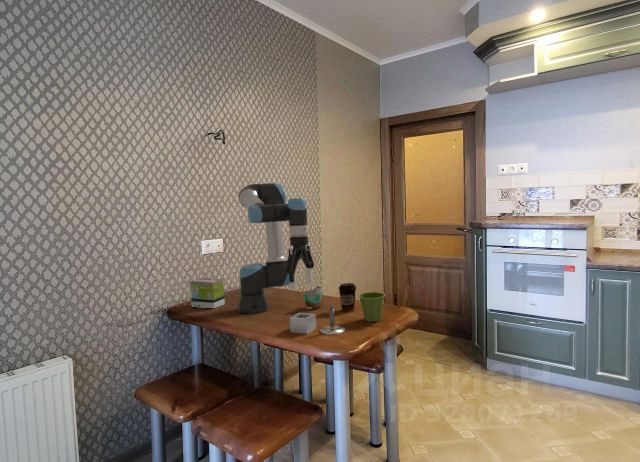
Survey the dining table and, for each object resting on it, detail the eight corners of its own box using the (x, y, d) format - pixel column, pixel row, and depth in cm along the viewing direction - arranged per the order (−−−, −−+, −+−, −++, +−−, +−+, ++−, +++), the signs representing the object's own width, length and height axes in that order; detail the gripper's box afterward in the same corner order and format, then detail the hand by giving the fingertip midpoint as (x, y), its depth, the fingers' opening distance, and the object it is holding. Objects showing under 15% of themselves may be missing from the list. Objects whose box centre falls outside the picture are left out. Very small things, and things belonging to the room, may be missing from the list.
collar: (290, 332, 160) (289, 317, 160) (299, 326, 168) (299, 312, 167) (307, 334, 157) (306, 319, 157) (316, 328, 164) (315, 314, 164)
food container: (314, 312, 188) (313, 291, 188) (304, 310, 192) (303, 290, 191) (327, 305, 199) (327, 286, 198) (317, 304, 202) (316, 285, 201)
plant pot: (365, 314, 180) (364, 291, 179) (390, 317, 174) (389, 292, 173) (354, 322, 170) (353, 296, 169) (380, 325, 164) (379, 299, 163)
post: (316, 333, 157) (314, 306, 157) (326, 325, 166) (325, 300, 166) (338, 335, 153) (337, 308, 152) (348, 328, 162) (347, 302, 161)
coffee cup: (355, 313, 184) (354, 286, 183) (338, 312, 185) (337, 286, 184) (357, 308, 192) (356, 282, 191) (341, 307, 194) (340, 282, 193)
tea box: (191, 308, 208) (189, 281, 207) (203, 303, 217) (201, 277, 216) (214, 309, 202) (212, 281, 201) (225, 304, 212) (223, 278, 211)
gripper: (291, 238, 147) (294, 293, 148) (320, 233, 169) (322, 281, 171) (274, 238, 150) (277, 292, 151) (305, 233, 172) (307, 280, 174)
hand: (301, 286), depth 161 cm, fingers open, 13 cm apart
